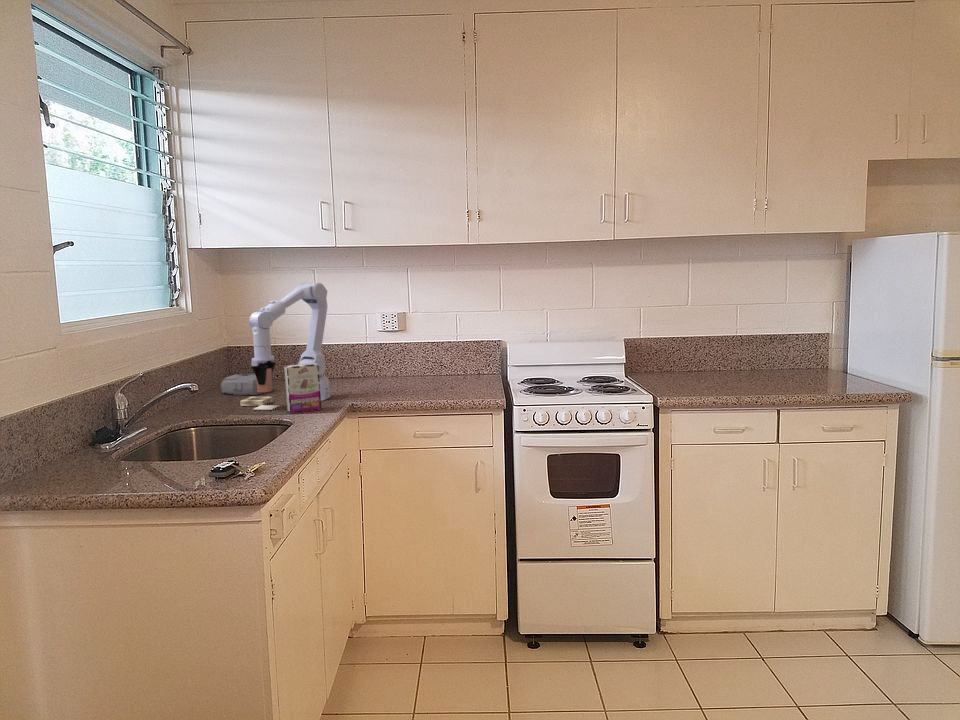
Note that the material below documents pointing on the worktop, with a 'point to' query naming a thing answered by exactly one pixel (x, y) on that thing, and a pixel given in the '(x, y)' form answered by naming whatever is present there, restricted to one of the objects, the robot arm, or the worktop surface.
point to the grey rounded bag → (240, 384)
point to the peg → (266, 382)
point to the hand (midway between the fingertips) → (264, 383)
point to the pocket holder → (256, 401)
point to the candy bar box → (302, 387)
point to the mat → (266, 407)
